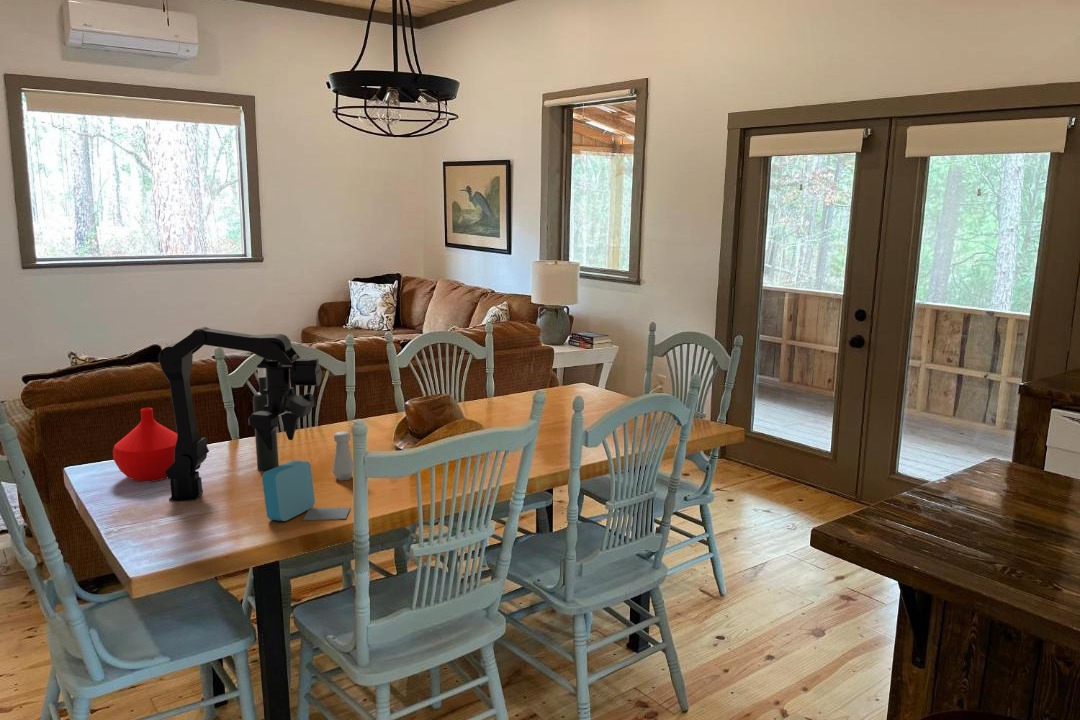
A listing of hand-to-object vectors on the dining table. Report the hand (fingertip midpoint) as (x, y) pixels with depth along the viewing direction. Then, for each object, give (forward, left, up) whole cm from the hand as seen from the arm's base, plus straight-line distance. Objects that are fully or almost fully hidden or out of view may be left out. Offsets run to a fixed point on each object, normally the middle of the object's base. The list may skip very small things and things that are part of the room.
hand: (280, 444), depth 206 cm
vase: (-40, +18, -14) cm, 46 cm away
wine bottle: (-10, +23, -14) cm, 29 cm away
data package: (+5, -13, -14) cm, 20 cm away
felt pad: (+14, -13, -14) cm, 23 cm away
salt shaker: (+13, +13, -14) cm, 23 cm away
